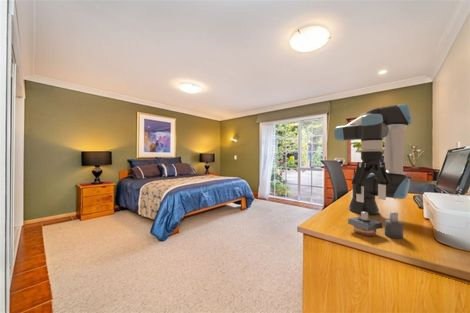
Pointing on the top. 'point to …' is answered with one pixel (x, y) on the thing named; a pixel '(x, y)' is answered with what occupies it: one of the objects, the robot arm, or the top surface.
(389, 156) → the robot arm
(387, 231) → the stand
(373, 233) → the hub
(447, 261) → the top surface
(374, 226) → the hollow square frame
